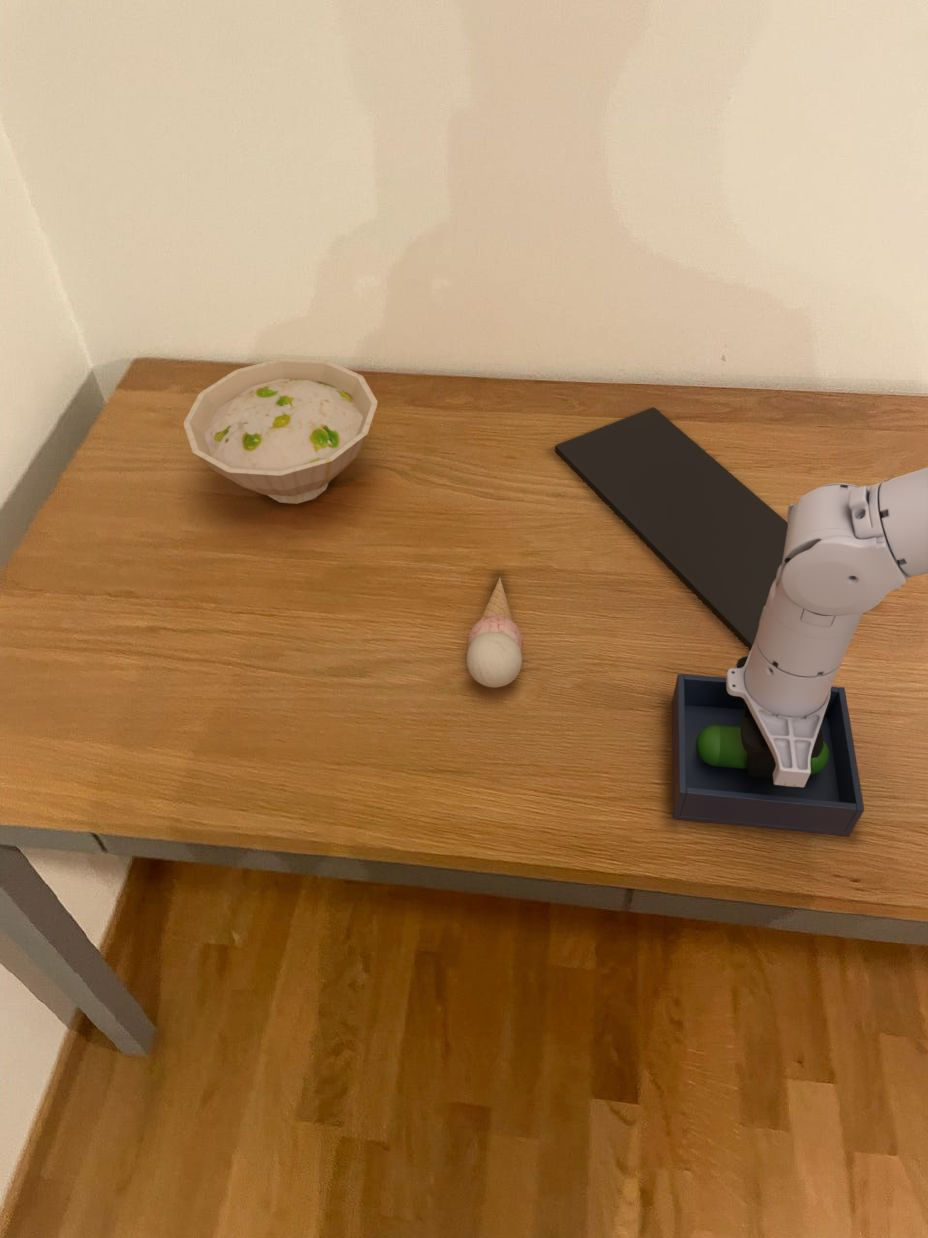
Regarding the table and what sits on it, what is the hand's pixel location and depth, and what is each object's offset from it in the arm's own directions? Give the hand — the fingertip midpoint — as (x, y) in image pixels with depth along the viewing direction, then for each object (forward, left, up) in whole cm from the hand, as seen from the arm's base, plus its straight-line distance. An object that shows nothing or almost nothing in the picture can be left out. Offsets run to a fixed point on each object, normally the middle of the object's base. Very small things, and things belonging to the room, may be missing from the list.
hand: (759, 754), depth 72 cm
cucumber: (0, 0, +1) cm, 1 cm away
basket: (0, 0, -2) cm, 2 cm away
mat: (+25, -14, -2) cm, 29 cm away
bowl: (+51, +19, -2) cm, 55 cm away
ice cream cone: (+21, +11, -2) cm, 24 cm away
